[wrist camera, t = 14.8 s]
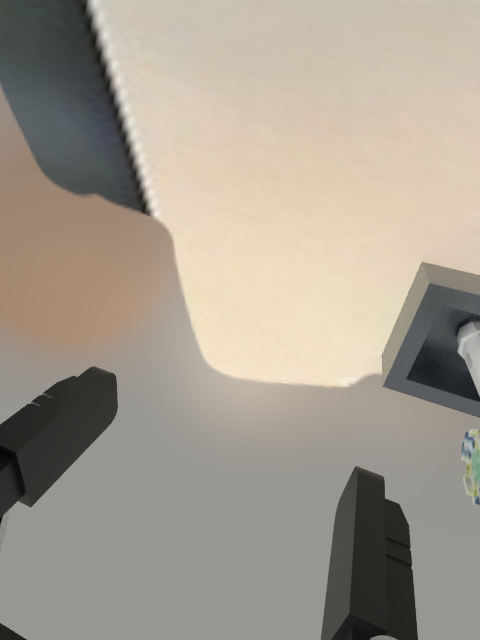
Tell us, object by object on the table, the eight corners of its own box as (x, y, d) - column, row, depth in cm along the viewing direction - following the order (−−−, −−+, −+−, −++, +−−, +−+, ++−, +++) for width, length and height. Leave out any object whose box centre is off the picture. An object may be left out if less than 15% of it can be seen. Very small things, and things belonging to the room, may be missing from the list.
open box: (421, 262, 42) (429, 282, 36) (553, 292, 39) (587, 321, 32) (382, 355, 49) (382, 386, 42) (490, 387, 46) (508, 426, 39)
